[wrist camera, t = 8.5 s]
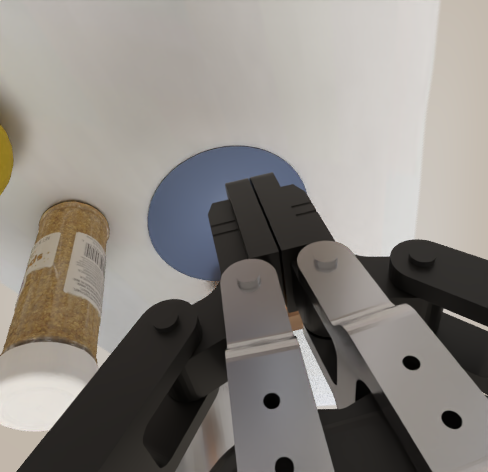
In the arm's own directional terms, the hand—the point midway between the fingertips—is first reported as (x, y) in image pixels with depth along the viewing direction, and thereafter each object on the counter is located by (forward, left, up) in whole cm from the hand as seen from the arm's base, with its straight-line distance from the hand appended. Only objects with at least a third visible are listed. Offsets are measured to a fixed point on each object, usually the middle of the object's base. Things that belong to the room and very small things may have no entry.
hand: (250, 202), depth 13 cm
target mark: (-10, -5, -14) cm, 18 cm away
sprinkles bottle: (-12, +6, -14) cm, 20 cm away
